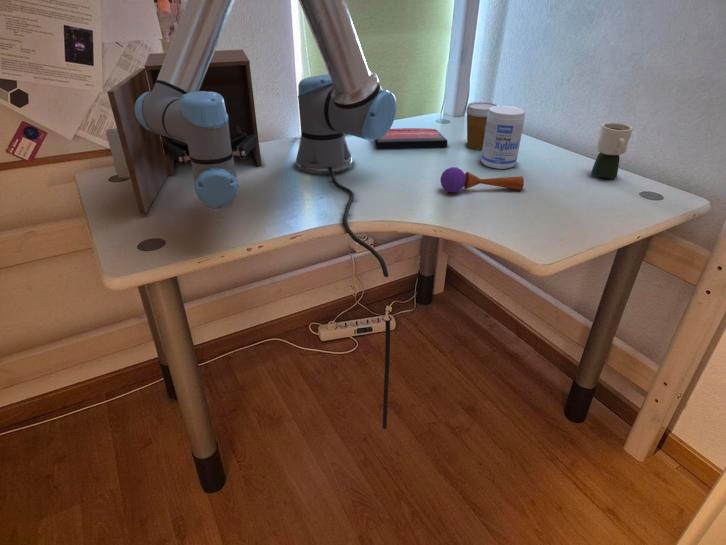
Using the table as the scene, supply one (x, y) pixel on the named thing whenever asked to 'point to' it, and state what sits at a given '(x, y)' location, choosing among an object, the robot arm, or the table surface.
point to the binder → (411, 139)
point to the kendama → (475, 180)
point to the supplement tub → (502, 136)
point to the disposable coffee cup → (477, 123)
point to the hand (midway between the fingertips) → (209, 134)
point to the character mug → (611, 148)
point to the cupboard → (144, 148)
